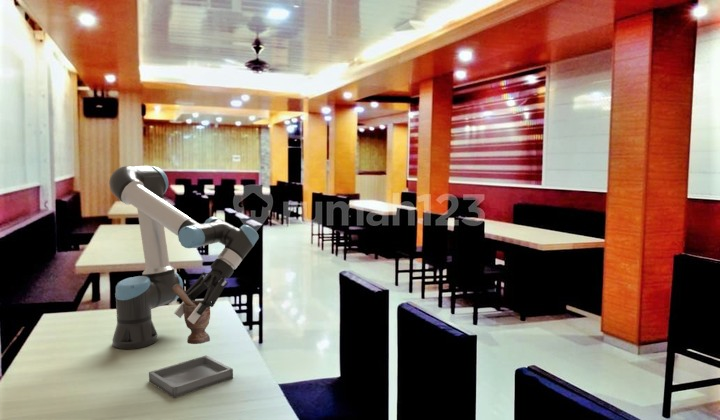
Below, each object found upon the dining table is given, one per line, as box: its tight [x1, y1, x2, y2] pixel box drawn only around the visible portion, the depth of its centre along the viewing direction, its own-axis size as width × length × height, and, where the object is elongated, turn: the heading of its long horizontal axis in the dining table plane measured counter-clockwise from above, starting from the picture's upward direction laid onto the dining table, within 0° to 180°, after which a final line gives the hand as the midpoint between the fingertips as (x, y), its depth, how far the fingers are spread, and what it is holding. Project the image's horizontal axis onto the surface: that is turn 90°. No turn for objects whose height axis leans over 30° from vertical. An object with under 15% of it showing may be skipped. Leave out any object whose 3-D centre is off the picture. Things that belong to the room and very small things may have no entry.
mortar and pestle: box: [172, 284, 211, 345], centre depth 177 cm, size 12×9×20 cm
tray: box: [148, 355, 234, 399], centre depth 161 cm, size 16×19×3 cm
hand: (183, 318), depth 175 cm, fingers closed on mortar and pestle, 9 cm apart
